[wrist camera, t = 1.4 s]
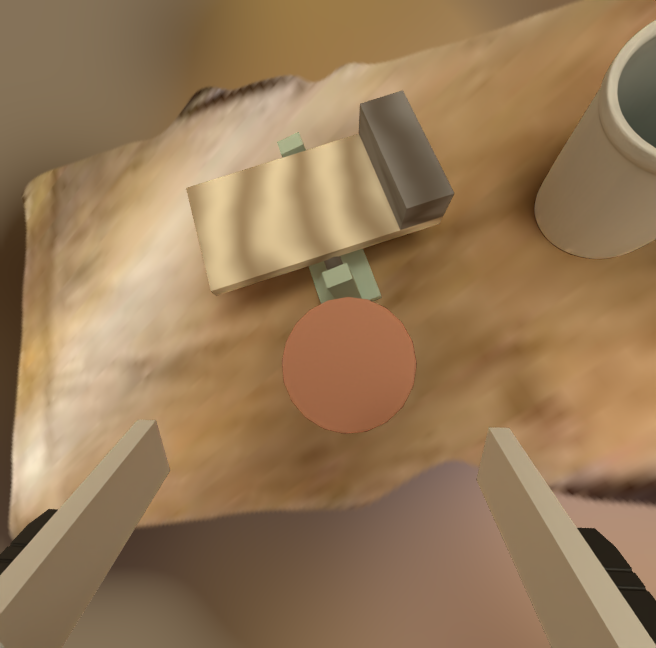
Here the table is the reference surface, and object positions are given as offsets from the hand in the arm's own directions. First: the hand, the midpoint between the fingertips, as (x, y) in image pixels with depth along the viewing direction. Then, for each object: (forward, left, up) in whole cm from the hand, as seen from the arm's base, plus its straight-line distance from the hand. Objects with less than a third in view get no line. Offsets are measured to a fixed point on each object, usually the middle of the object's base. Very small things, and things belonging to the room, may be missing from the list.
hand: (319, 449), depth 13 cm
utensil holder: (-34, -14, -30) cm, 47 cm away
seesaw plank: (-1, -24, -22) cm, 33 cm away
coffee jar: (-1, -4, -30) cm, 30 cm away
